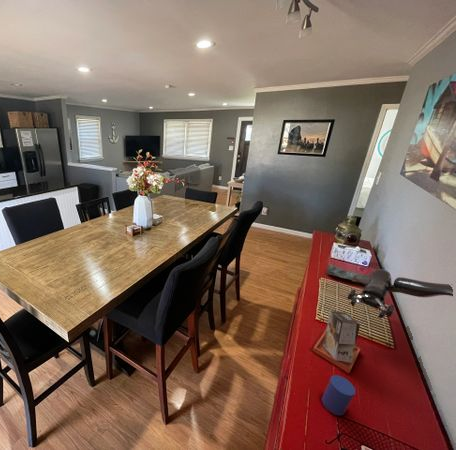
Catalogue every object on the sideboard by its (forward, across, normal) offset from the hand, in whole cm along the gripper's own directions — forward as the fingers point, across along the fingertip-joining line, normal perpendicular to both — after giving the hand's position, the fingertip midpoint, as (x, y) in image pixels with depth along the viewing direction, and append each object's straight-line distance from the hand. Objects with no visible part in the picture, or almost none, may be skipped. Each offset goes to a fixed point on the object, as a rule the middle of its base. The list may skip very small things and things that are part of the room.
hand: (366, 310), depth 95 cm
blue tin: (+35, -3, -19) cm, 39 cm away
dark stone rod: (-57, +13, -18) cm, 61 cm away
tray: (+10, +3, -19) cm, 21 cm away
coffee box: (+12, +2, -17) cm, 21 cm away
